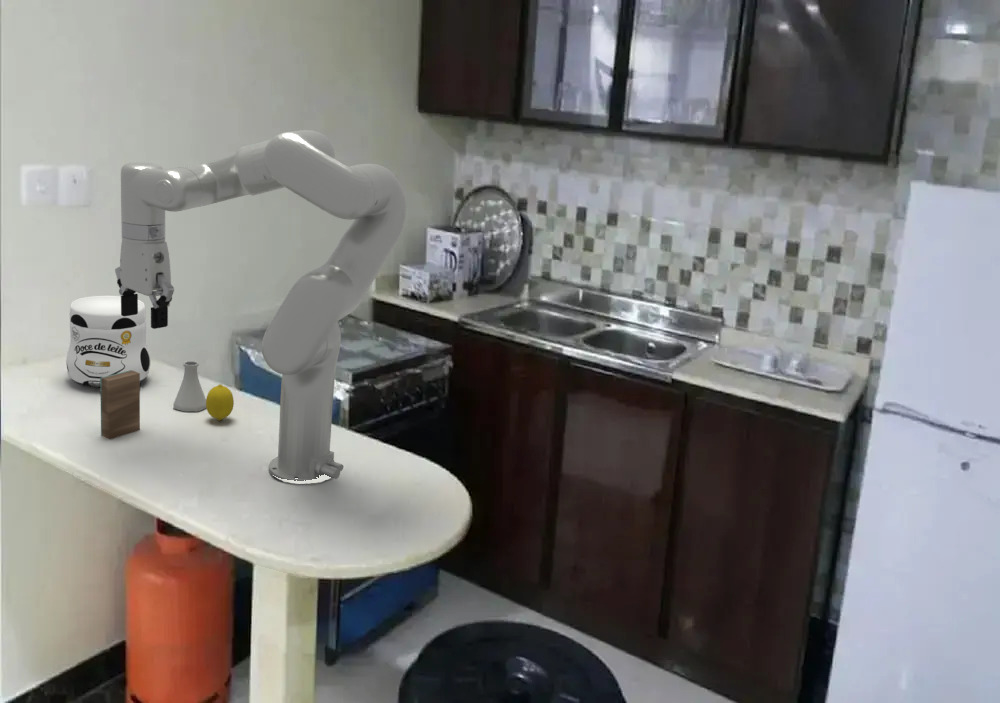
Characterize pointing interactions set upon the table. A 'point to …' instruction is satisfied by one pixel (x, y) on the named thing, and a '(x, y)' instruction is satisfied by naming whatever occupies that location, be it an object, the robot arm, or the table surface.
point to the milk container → (105, 340)
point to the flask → (190, 390)
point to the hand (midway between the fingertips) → (144, 321)
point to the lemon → (219, 402)
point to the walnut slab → (120, 404)
